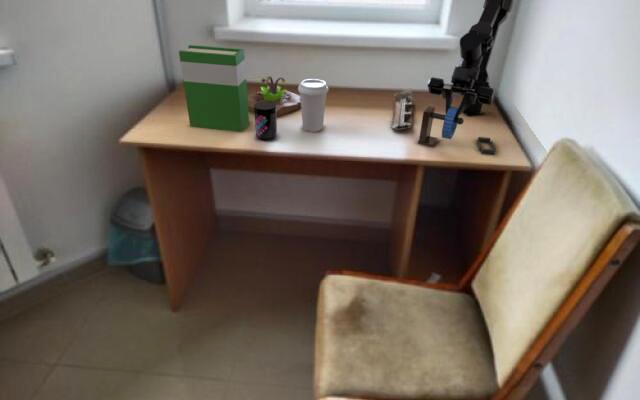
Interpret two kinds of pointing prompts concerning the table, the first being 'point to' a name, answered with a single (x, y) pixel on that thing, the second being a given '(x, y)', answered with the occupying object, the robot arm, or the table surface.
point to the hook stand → (427, 124)
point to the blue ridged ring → (449, 123)
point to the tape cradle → (486, 140)
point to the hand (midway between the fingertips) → (451, 116)
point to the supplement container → (265, 120)
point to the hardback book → (215, 87)
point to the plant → (275, 97)
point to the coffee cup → (313, 103)
